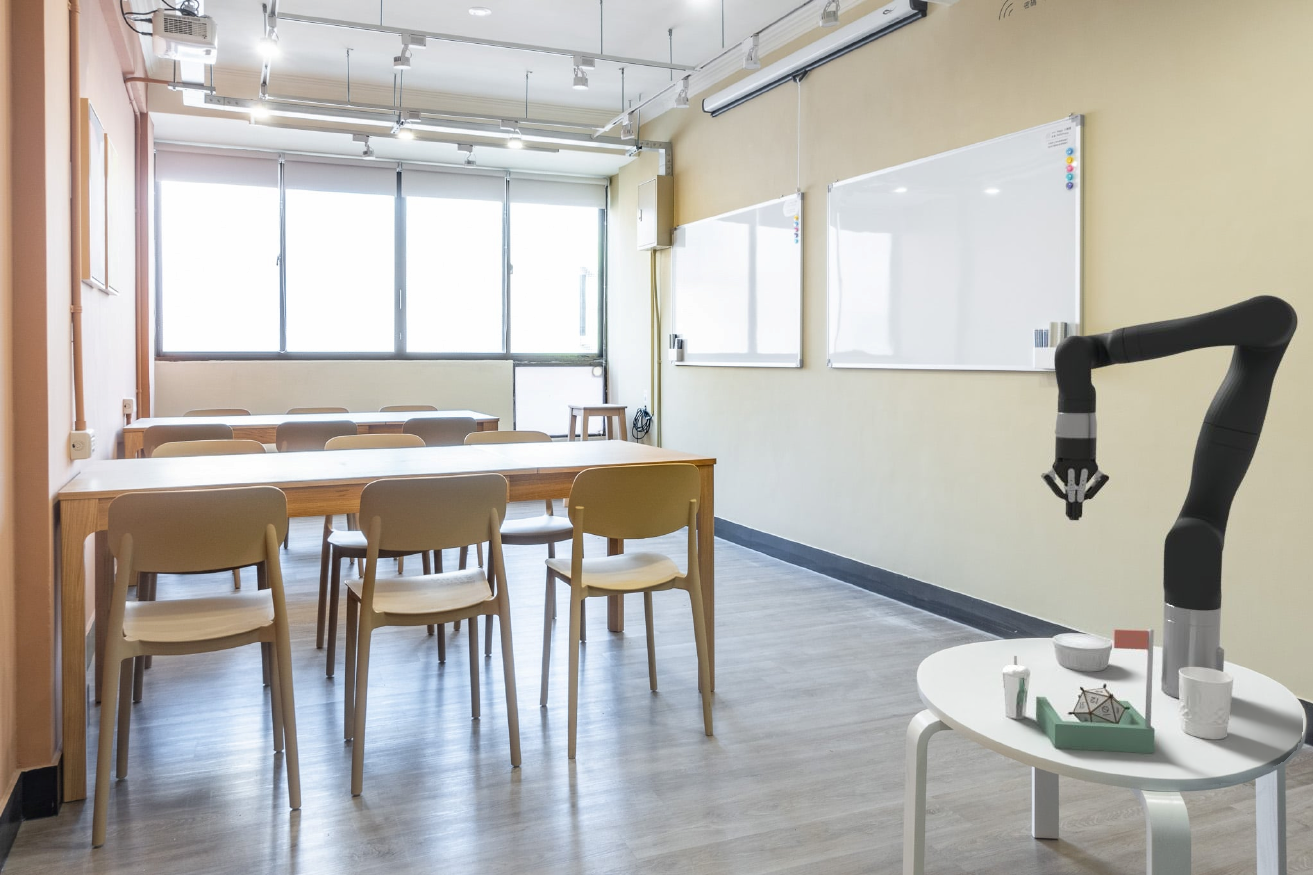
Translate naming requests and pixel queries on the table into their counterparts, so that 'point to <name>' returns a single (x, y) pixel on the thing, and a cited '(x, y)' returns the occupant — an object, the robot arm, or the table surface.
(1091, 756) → the table surface
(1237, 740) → the table surface
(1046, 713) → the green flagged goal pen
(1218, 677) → the white cup
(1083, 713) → the game die
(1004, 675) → the milkshake
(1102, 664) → the ramekin
